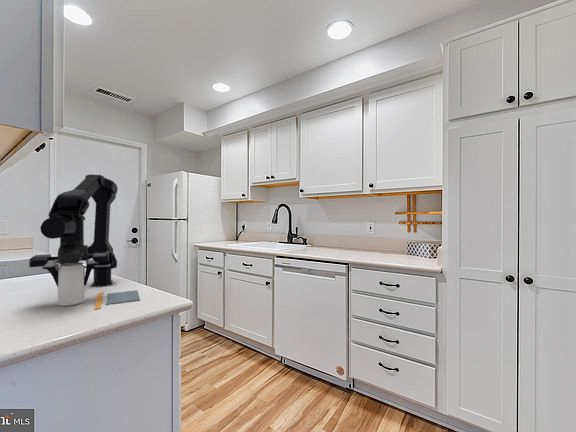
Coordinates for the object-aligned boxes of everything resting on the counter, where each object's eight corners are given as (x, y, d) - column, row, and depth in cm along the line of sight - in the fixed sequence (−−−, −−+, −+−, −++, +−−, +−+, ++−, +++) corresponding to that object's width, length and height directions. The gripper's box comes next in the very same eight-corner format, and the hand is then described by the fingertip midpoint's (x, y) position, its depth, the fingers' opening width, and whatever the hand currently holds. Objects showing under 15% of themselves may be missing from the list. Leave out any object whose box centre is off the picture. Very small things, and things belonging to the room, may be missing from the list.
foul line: (98, 293, 96) (98, 292, 96) (103, 293, 97) (103, 292, 97) (94, 309, 81) (94, 308, 81) (100, 308, 82) (100, 307, 82)
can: (70, 307, 82) (70, 266, 82) (52, 305, 84) (52, 265, 83) (90, 300, 89) (89, 262, 89) (73, 299, 90) (72, 261, 90)
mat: (107, 294, 95) (107, 293, 95) (137, 291, 100) (137, 290, 100) (106, 305, 85) (106, 303, 85) (139, 300, 90) (139, 299, 90)
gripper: (23, 239, 74) (24, 298, 74) (107, 236, 84) (108, 288, 84) (34, 236, 84) (34, 288, 84) (108, 233, 93) (108, 280, 94)
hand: (72, 286), depth 86 cm, fingers closed on can, 6 cm apart
